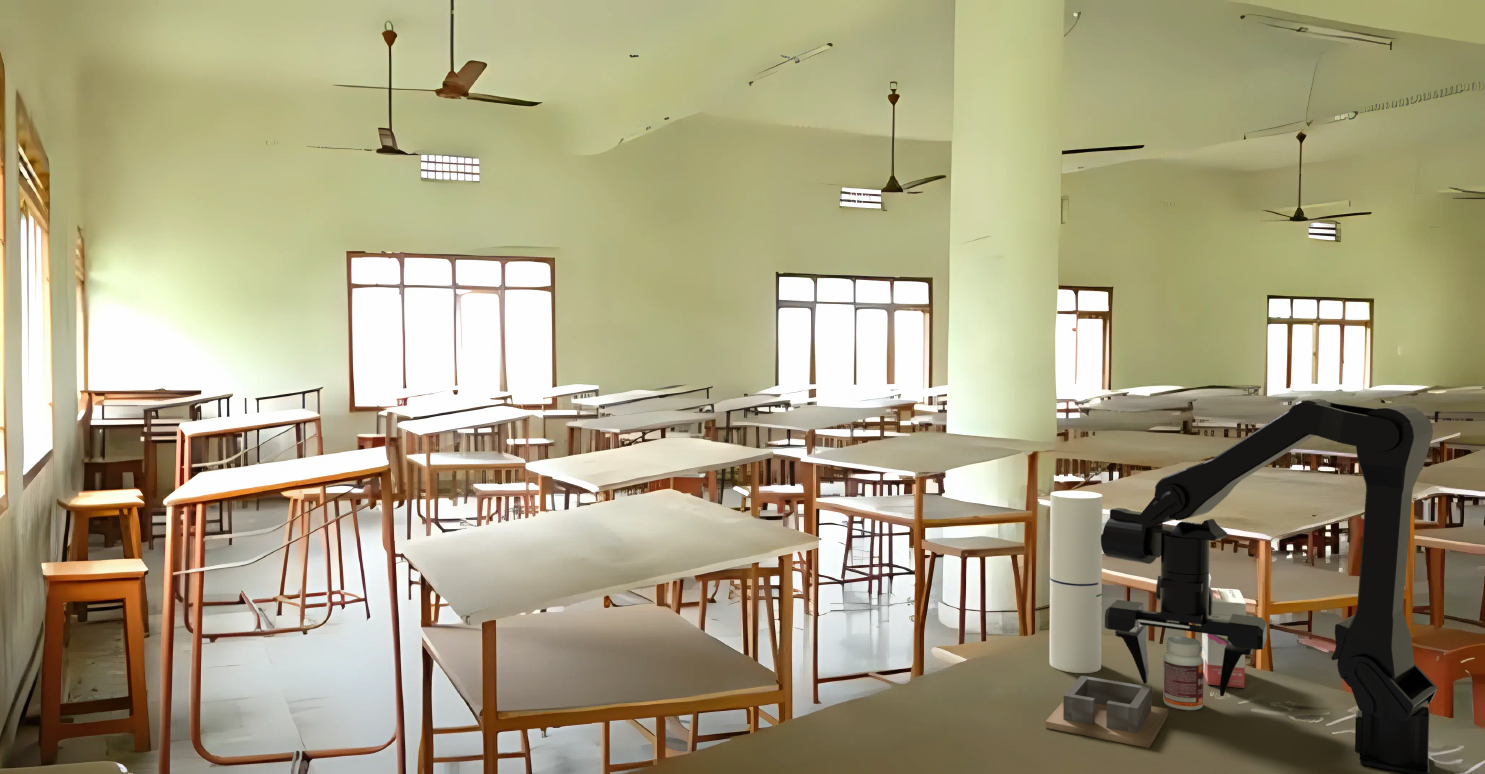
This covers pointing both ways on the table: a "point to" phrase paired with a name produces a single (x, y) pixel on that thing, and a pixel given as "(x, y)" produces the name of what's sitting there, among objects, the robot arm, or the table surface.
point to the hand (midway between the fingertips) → (1183, 688)
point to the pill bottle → (1183, 674)
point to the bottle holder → (1109, 712)
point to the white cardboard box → (1222, 637)
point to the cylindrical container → (1075, 581)
